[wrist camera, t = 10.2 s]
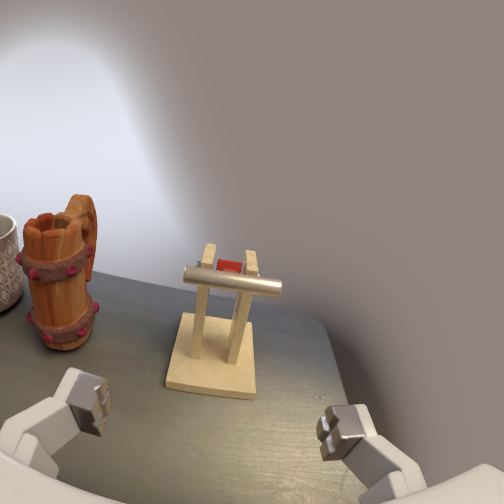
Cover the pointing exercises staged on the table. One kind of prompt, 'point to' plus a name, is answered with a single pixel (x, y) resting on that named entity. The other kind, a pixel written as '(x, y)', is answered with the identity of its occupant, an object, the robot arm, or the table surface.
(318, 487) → the table surface
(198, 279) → the lever
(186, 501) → the table surface
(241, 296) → the wooden lever stand
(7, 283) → the planter
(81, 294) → the mug
